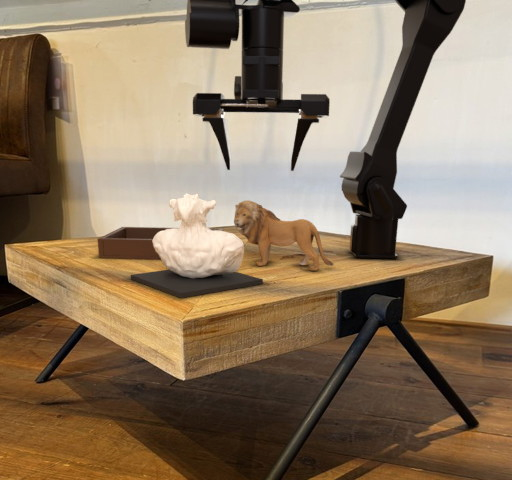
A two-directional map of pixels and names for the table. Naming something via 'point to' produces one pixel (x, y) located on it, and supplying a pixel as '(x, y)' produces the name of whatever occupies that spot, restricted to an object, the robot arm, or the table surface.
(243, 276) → the charcoal mat
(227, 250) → the bust
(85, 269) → the table surface
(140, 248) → the walnut tray
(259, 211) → the lion figurine
